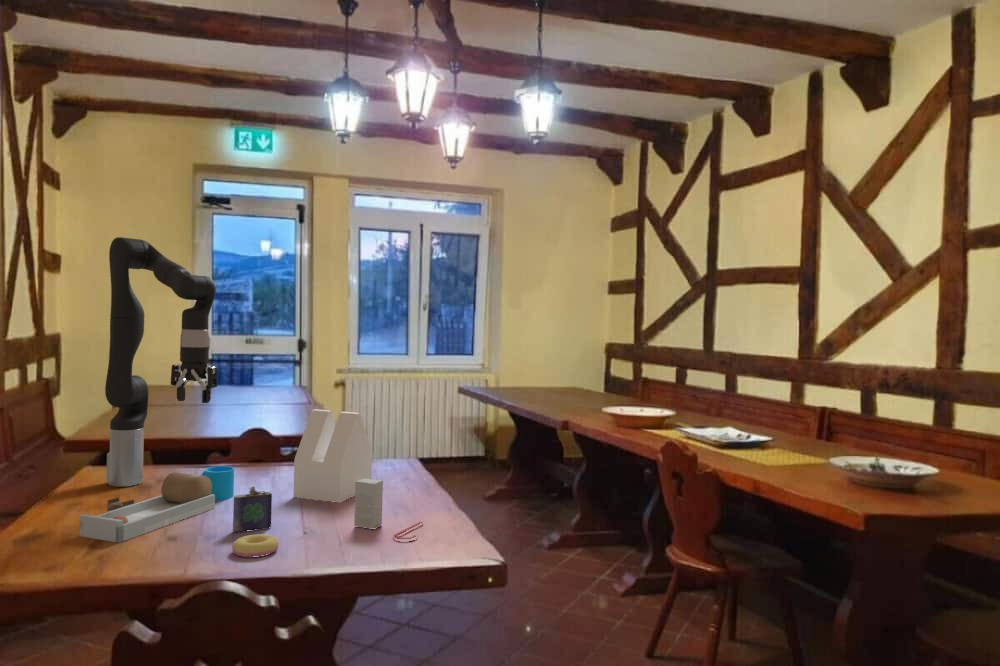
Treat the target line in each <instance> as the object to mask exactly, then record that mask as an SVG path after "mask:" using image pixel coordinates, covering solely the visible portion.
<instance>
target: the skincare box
mask: <svg viewBox="0 0 1000 666" xmlns="http://www.w3.org/2000/svg"><path fill="white" fill-rule="evenodd" d="M383 481H384V480H380V479H372V478H371V479H364V478H363V479H361V480H358V481H356V482H355V496H354V523H353V524H354V526H358V527H366V528H376V527H378V526H379V525H381V524H382V525H383V495H384V494H383V492H384V491H383V490H384V487H383V486H384V483H383Z"/></svg>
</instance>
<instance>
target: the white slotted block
mask: <svg viewBox="0 0 1000 666" xmlns="http://www.w3.org/2000/svg"><path fill="white" fill-rule="evenodd" d="M293 462H294V463H293V464H294V467H293V468H294V469H293V498H295V497H297V498H296V499H303V498H305V499H304V500H310V499H313V500H312V501H318V500H324V501H323V502H326V501H335V502H341V501H343V500H345V499H347V498H349V497H351V496H353V495H355V482H356V481H358V480H361V479H363V478H364V479H372V475H373V474H372V473H373V472H372V471H373V470H372V469H373V465H372V464H373V450H372V448H371V444H370V441H369V438H368V435H367V431H366V428H365V425H364V421H363V419H362V415H361V413H360V412H351V411H350V412H349V411H339V414H338V417H337V420H336V419H335V416H334V412H333V410H328V409H311V413H310V415H309V418H308V420H307V423H306V425H305V429H304V431H303V434H302V437H301V440H300V442H299V445H298V448H297V450H296V453H295V457H294V461H293ZM349 499H350V498H349ZM347 500H348V499H347ZM345 501H346V500H345ZM343 502H344V501H343ZM341 503H342V502H341Z"/></svg>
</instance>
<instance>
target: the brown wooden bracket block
mask: <svg viewBox="0 0 1000 666" xmlns="http://www.w3.org/2000/svg"><path fill="white" fill-rule="evenodd" d="M106 504H107V505H106V506H107V507H106V509H107V510H106V513H107V512H109V511H112V510H115V509H119V508H122V507H125V506H128V505H132V504H135V500H134V499H128V500H126V501H121V500H120V497H118V496H116V497H113V498H110V499H107V503H106Z"/></svg>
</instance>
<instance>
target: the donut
mask: <svg viewBox="0 0 1000 666" xmlns="http://www.w3.org/2000/svg"><path fill="white" fill-rule="evenodd" d="M278 548H279V540H278V538H277V537H275V536H273V535H271V534H264V533H263V534H262V533H261V534H259V533H258V534H257V533H256V534H250V535H245V536H244V535H243V536H241V537H239V538H237V539H236V540H235V541H234V542H233V543H232V547H231V549H232V552H233V554H234V555H235V554H236V555H235V556H237V555H238V556H237V557H239V556H243V557H242V558H244V557H253V556H261V555H266V554H269V553H272V552H274V551H275V552H276V551H277V550H278ZM275 552H274V553H275ZM272 554H273V553H272Z"/></svg>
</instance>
